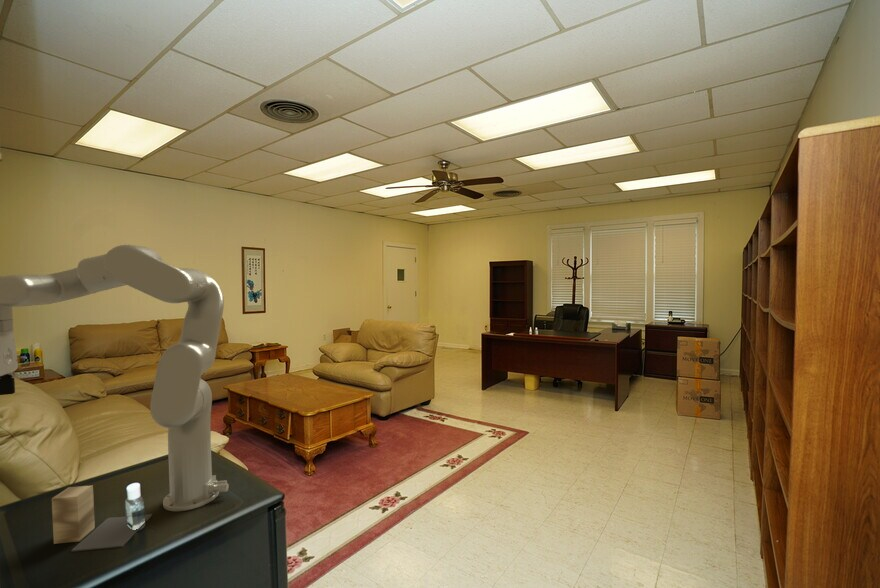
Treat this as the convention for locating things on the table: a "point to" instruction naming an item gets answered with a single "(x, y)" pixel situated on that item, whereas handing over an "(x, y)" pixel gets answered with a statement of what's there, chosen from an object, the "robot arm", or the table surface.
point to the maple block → (73, 514)
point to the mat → (108, 535)
